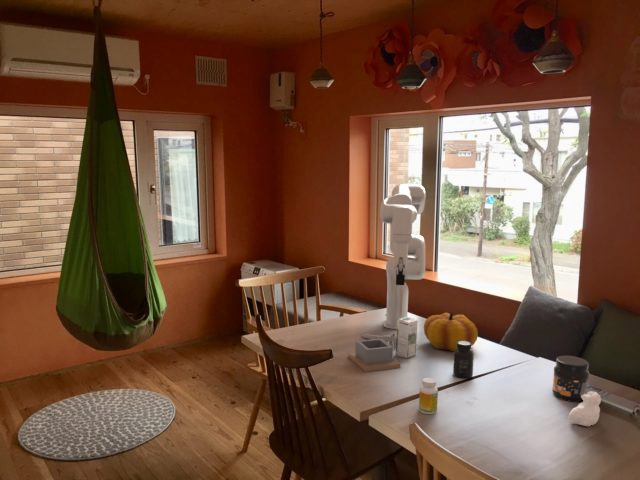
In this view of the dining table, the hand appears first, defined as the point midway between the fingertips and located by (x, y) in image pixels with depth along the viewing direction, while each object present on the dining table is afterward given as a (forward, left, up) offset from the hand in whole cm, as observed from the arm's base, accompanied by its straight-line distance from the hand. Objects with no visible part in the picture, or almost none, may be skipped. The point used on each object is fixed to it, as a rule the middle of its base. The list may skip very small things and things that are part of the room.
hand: (400, 282), depth 213 cm
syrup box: (+3, +2, -29) cm, 29 cm away
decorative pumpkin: (-1, +24, -29) cm, 38 cm away
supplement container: (+52, +36, -29) cm, 69 cm away
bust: (+69, +26, -29) cm, 79 cm away
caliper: (-14, -2, -29) cm, 32 cm away
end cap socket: (+6, -13, -29) cm, 32 cm away
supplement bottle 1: (+48, -14, -29) cm, 57 cm away
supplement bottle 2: (+27, +12, -29) cm, 41 cm away
